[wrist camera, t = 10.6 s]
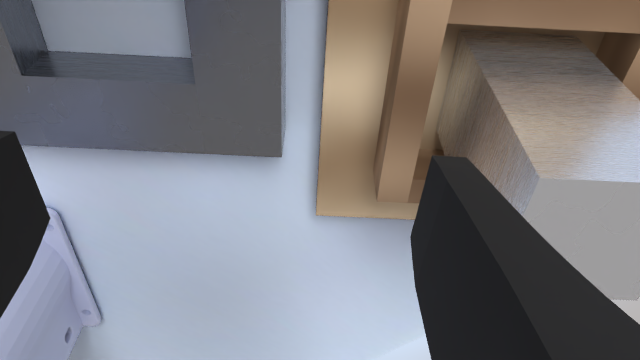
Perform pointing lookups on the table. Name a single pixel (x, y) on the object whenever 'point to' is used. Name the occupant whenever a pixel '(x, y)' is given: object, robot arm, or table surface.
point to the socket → (152, 86)
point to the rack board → (427, 85)
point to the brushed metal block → (552, 145)
